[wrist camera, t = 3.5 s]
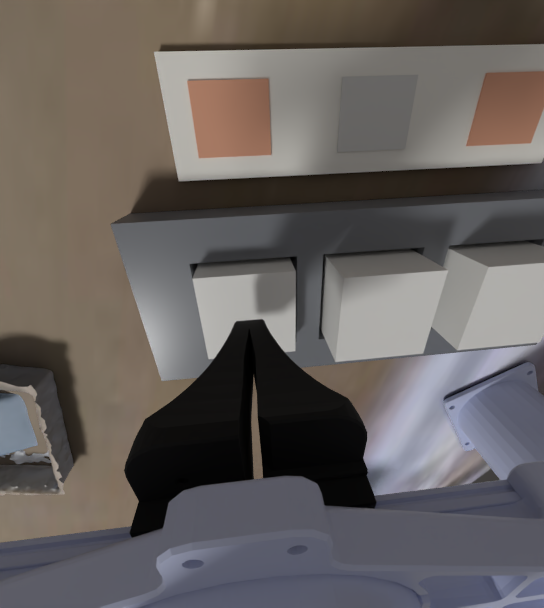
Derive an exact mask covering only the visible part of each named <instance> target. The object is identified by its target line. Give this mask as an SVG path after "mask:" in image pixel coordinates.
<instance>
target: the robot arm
mask: <svg viewBox="0 0 544 608" xmlns="http://www.w3.org/2000/svg"><path fill="white" fill-rule="evenodd" d="M253 375H254V378H255V384H256V390H257V404H258V423H259V433H260V444H261V454H262V466H263V478H262V479H254V476H253V454H252V430H251V411H252V394H253ZM443 405H444V407H445V409H446V412H447V414H448V416H449V418H450V421H451V423H452V425H453V427H454V430H455V432H456V434H457V436H458V439H459V441H460V443H461V445H462V447H463V449H464V450H465V451H470V450H472V449H475V448H476V450H477V451H478V452H479V454H480V455H481V456H482V457H483V459H484V460H485V461H486V462H487V464H488V465H489V466H490V467H491V469H492V470H493V471H494V473H495V474H496V475H497V476H498V478H499V479H500V480H498V481H490V482H482V483H474V484H466V485H458V486H450V487H442V488H434V489H426V490H418V491H410V492H402V493H394V494H386V495H378V496H374V494H373V491H372V489H371V486H370V483H369V481H368V478H367V476H366V475H367V473H368V471H367V467H366V465H365V462H364V460H363V456H364V451H365V447H366V442H367V431H366V429H365V426H364V424H363V421H362V420H361V418H360V416H359V414H358V413H357V411H356V409H355V408H354V406H353V405H352V403H351V402H350V400H349V399H348V398H346V397H344V396H342V395H341V394H339V393H337V392H335V391H333V390H331V389H329V388H327V387H326V386H324V385H323V384H321V383H319V382H318V381H316V380H315V379H314V378H312V377H311V376H310V375H308V374H307V373H306V372H304V371H303V370H302V369H301V368H300V367H299V366H298V365H297V364H296V363H295V362H293V361H292V360H291V359H290V357H289V356H288V355H287V354H286V353H285V352H284V351H283V350H282V348H281V347H280V346H279V345H278V343H277V342H276V340H275V339H274V338H273V336H272V335H271V333H270V331H269V330H268V328H267V326H266V323H265V321H264V320H263V319H257V320H245V321H236V322H235V323H234V326H233V328H232V330H231V332H230V334H229V336H228V338H227V340H226V341H225V343H224V345H223V346H222V348H221V350H220V351H219V352H218V354H217V355H216V357H215V358H214V360H213V361H212V362H211V363H210V365H209V366H208V367H207V368H206V370H205V371H204V372H203V373H202V374H201V375H200V376H199V377H198V378H197V379H196V380H195V381H194V382H193V383H192V384H191V385H190V386H189V387H188V388H187V389H186V390H185V391H184V392H182V393H181V394H180V395H179V396H178V397H176V398H175V399H174V400H173V401H171V402H170V403H169V404H167V405H166V406H164V407H163V408H161V409H160V410H158V411H157V412H155V413H154V414H153V415H151V416H150V417H148V418H146V419H145V421H144V423H143V425H142V427H141V428H140V430H139V432H138V434H137V436H136V438H135V440H134V443H133V446H132V448H131V451H130V453H129V456H128V459H127V461H126V465H125V470H124V471H125V475H126V478H127V480H128V482H129V484H130V485H131V487H132V489H133V491H134V493H135V495H136V496H137V498H138V500H139V503H138V506H137V510H136V513H135V516H134V520H133V523H132V526H130V527H122V528H114V529H106V530H98V531H90V532H82V533H74V534H66V535H58V536H50V537H42V538H34V539H27V540H19V541H11V542H3V543H0V608H544V396H543V395H542V394H541V393H540V392H538V385H537V377H536V370H535V366H534V365H533V364H532V363H530V362H526V363H524V364H522V365H519V366H517V367H515V368H513V369H511V370H508V371H506V372H504V373H502V374H500V375H497V376H495V377H493V378H491V379H489V380H486V381H484V382H482V383H480V384H478V385H475V386H473V387H471V388H469V389H467V390H464V391H462V392H460V393H458V394H456V395H453V396H451V397H449V398H447V399H445V400H444V402H443Z"/></svg>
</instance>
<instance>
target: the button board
mask: <svg viewBox="0 0 544 608" xmlns="http://www.w3.org/2000/svg"><path fill="white" fill-rule="evenodd" d="M111 227H112V230H113V233H114V236H115V239H116V242H117V245H118V248H119V251H120V254H121V257H122V261H123V264H124V267H125V270H126V273H127V276H128V279H129V282H130V285H131V288H132V291H133V294H134V297H135V300H136V303H137V306H138V309H139V312H140V316H141V319H142V322H143V325H144V328H145V331H146V334H147V337H148V340H149V343H150V346H151V349H152V352H153V355H154V358H155V361H156V364H157V367H158V371H159V374H160V377H161V380H162V381H167V380H177V379H188V378H198V377H199V376H200V375H201V374H202V373H203V372H204V371H205V370H206V368H207V367H208V366H209V365H210V363H211V362H212V361H213V360H214V359H208V355H207V350H206V345H205V340H204V335H203V330H202V325H201V320H200V315H199V310H198V305H197V300H196V295H195V290H194V285H193V280H192V278H193V276H194V273H195V271H196V268H197V266H198V263H207V262H222V261H236V260H250V259H264V258H279V257H290V259H291V262H292V264H293V266H294V268H295V270H296V331H295V351H292V352H285V353H286V354H287V355H288V356H289V357H290V359H291V360H292V361H293V362H295V363H296V364H297V365H298V366H299V367H300V368H301V367H311V366H322V365H332V364H342V363H353V362H363V361H373V360H383V359H394V358H404V357H414V356H425V355H435V354H445V353H456V352H466V351H476V350H486V349H497V348H507V347H517V346H528V345H536V344H537V343H528V344H518V345H508V346H497V347H487V348H476V349H466V350H456V349H455V348H454V347H453V346H452V345H451V344H450V343H449V342H447V341H446V340H445V339H444V338H443V337H442V336H441V335H440V334H439V333H438V332H437V331H435V330H434V329H433V328H432V327H431V329H430V333H429V336H428V339H427V342H426V346H425V349H424V352H423V354H414V355H404V356H393V357H383V358H373V359H362V360H352V361H342V362H335V360H334V358H333V356H332V353H331V351H330V349H329V347H328V344H327V342H326V340H325V338H324V335H323V333H322V331H321V329H320V304H321V287H322V269H323V254H336V253H350V252H364V251H379V250H393V249H407V248H410V249H412V250H414V251H415V252H417V253H419V254H421V255H423V256H424V257H426V258H428V259H430V260H431V261H433V262H435V263H437V264H438V265H440V266H442V267H443V265H444V262H445V258H446V255H447V251H448V248H449V246H450V245H464V244H479V243H493V242H507V241H522V240H524V241H527V242H531V243H534V244H537V245H540V246H543V247H544V190H532V191H515V192H497V193H480V194H462V195H445V196H428V197H410V198H393V199H375V200H358V201H340V202H323V203H306V204H288V205H271V206H253V207H236V208H218V209H201V210H184V211H166V212H149V213H131V214H128V215H126V216H125V217H123V218H121V219H119V220H117V221H115V222H113V223H112V224H111Z"/></svg>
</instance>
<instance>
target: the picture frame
mask: <svg viewBox="0 0 544 608" xmlns="http://www.w3.org/2000/svg"><path fill="white" fill-rule="evenodd" d="M0 390H6V391H19V392H26V393H29V394H31V395H32V396H33V399H34V402H35V404H36V408H37V416H38V419H39V424H40V429H41V431H42V433H43V434H44V438H45V440H46V442H47V448H48V451H47V453H45V454H35V453H33V454H32V455H31V456H27V455H26V454H25V451H23V449H26V448H29V447H33V446H37V445H38V444H37V441H36V436H35V434H34V431H33V428H32V425H31V422H30V420H29V417H28V413H27V408H26V406H25V403H24V401H23V399H22V398H21V396H19V395H16V394H11V393H10V394H6V393H0V456H1V457H4V458H6V457H5V456H4V455H10V454H9V453H12V452H15V454H13V455H11V458H10V460H13V461H14V462H15V463H16V464H22V463H25V462H29V463H32V462H40V461H43V462H47V463H52V466H47V465H40V466H37V465H0V495H5V493H8V494H14V495H19V494H21V493H22V494H25V495H40V494H44V495H53V494H64V493H65V492H64V491H63V483H64V481H65V480H66V478H67V476H68V474H69V472H70V471H71V469H72V467H73V466H74V465H73V458H72V454H71V451H70V447H69V442H68V440H67V432H66V428H65V425H64V421H63V415H62V408H61V407H60V403H59V400H58V397H57V388H56V384H55V381H54V375H53V372H52V371H51V370H48V369H44V368H34V367H20V366H13V365H7V364H0ZM19 450H21V451H19ZM44 456H48V457H49V458H50V460H49V459H47V458H44Z"/></svg>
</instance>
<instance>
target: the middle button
mask: <svg viewBox="0 0 544 608" xmlns="http://www.w3.org/2000/svg"><path fill="white" fill-rule="evenodd" d="M447 273H448V270H447V269H445V268H444V267H442V266H440V265H438V264H437V263H435V262H433V261H431V260H430V259H428V258H426V257H424V256H423V255H421V254H419V253H417V252H415V251H414V250H412V249H410V248H407V249H393V250H379V251H364V252H350V253H336V254H324V256H323V273H322V291H321V308H320V329H321V331H322V333H323V335H324V338H325V340H326V342H327V344H328V347H329V349H330V351H331V353H332V356H333V358H334V360H335V362H342V361H352V360H362V359H373V358H383V357H393V356H404V355H414V354H423V352H424V349H425V346H426V342H427V339H428V336H429V333H430V329H431V326H432V323H433V319H434V316H435V313H436V309H437V306H438V303H439V300H440V296H441V293H442V290H443V286H444V283H445V280H446V276H447Z"/></svg>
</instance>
